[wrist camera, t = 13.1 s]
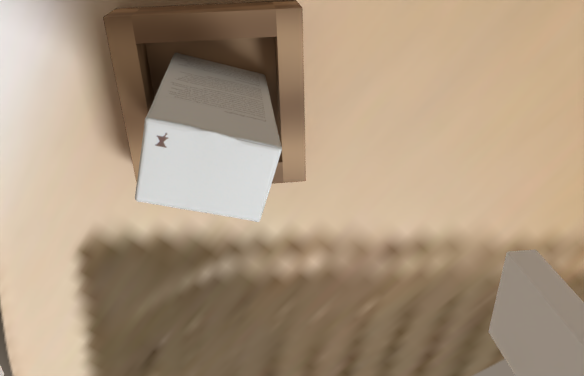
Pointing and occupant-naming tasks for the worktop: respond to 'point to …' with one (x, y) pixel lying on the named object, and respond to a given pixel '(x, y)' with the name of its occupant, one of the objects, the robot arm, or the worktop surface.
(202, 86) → the skincare box
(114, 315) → the worktop surface
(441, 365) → the worktop surface
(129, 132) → the rectangular wooden frame
